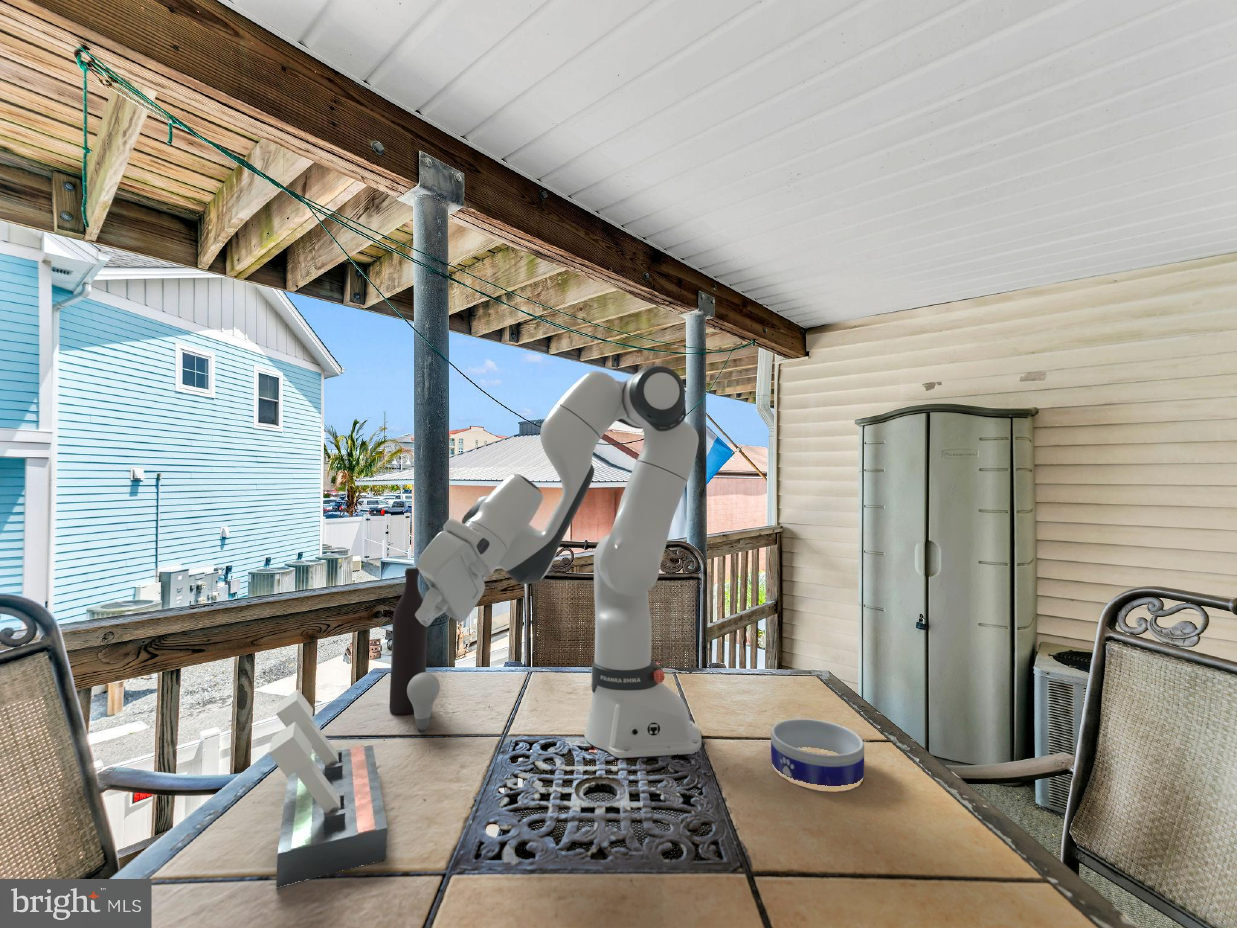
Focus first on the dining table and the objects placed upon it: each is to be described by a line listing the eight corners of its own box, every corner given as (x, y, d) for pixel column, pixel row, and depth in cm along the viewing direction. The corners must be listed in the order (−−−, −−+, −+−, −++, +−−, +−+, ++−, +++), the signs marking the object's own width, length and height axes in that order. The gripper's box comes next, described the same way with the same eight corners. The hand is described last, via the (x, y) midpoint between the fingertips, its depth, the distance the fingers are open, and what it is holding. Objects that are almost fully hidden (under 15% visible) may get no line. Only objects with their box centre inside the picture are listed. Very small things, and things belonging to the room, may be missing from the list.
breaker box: (371, 769, 95) (373, 736, 95) (386, 860, 72) (387, 816, 72) (289, 784, 90) (290, 749, 90) (275, 888, 66) (278, 841, 67)
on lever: (347, 793, 78) (295, 721, 75) (348, 812, 73) (293, 736, 71) (326, 809, 76) (272, 737, 74) (326, 829, 72) (268, 753, 69)
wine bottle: (415, 700, 126) (420, 565, 127) (430, 709, 121) (435, 568, 122) (383, 708, 121) (389, 567, 122) (397, 718, 116) (403, 571, 117)
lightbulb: (443, 724, 113) (445, 668, 114) (430, 737, 107) (432, 678, 108) (414, 722, 114) (416, 667, 115) (399, 735, 108) (401, 677, 109)
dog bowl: (754, 770, 98) (754, 734, 98) (794, 742, 109) (794, 710, 109) (843, 805, 87) (843, 765, 87) (877, 770, 98) (877, 735, 99)
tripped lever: (344, 750, 90) (298, 689, 88) (345, 764, 86) (296, 699, 83) (326, 764, 89) (278, 702, 86) (326, 779, 84) (275, 714, 82)
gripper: (473, 571, 104) (423, 635, 97) (446, 512, 88) (384, 584, 81) (500, 586, 103) (452, 653, 95) (478, 529, 86) (418, 605, 79)
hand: (420, 621), depth 88 cm, fingers closed
